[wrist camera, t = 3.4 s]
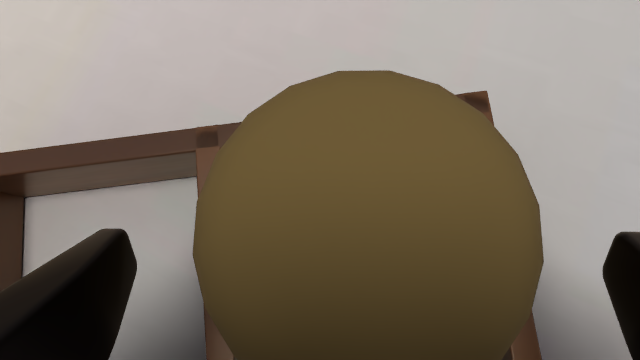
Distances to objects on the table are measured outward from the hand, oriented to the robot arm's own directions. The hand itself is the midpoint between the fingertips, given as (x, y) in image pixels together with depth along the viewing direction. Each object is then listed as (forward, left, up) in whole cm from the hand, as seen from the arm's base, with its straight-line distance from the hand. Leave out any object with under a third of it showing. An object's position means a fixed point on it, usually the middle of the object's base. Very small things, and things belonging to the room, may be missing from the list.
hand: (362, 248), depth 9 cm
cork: (0, 0, -8) cm, 8 cm away
